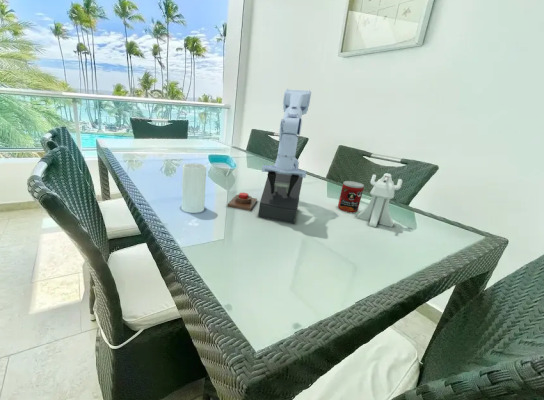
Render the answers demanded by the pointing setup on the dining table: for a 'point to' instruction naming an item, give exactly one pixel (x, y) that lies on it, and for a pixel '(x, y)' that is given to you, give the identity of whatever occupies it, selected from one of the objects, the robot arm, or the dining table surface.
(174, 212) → the dining table surface
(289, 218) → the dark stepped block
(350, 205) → the canned food
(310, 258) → the dining table surface
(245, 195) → the button
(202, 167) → the cup
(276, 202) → the lid
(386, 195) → the white mech figurine
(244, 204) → the control block
